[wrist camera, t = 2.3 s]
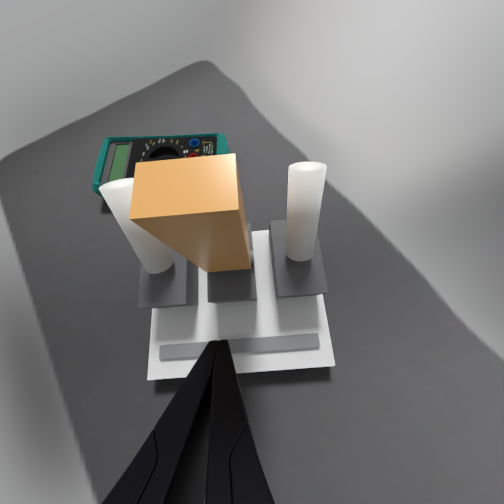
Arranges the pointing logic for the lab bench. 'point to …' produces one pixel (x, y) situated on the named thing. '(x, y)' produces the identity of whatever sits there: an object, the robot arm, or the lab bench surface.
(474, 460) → the lab bench surface
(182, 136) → the digital multimeter
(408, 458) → the lab bench surface
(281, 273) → the twin post stand
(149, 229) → the wooden block
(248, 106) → the lab bench surface
